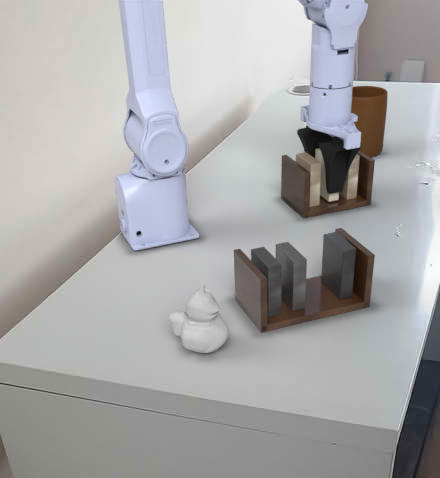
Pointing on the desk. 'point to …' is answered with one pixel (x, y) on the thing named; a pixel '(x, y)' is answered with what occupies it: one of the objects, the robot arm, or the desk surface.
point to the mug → (370, 117)
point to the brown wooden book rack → (308, 185)
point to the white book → (324, 179)
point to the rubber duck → (200, 323)
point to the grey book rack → (303, 282)
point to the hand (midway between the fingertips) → (326, 185)
